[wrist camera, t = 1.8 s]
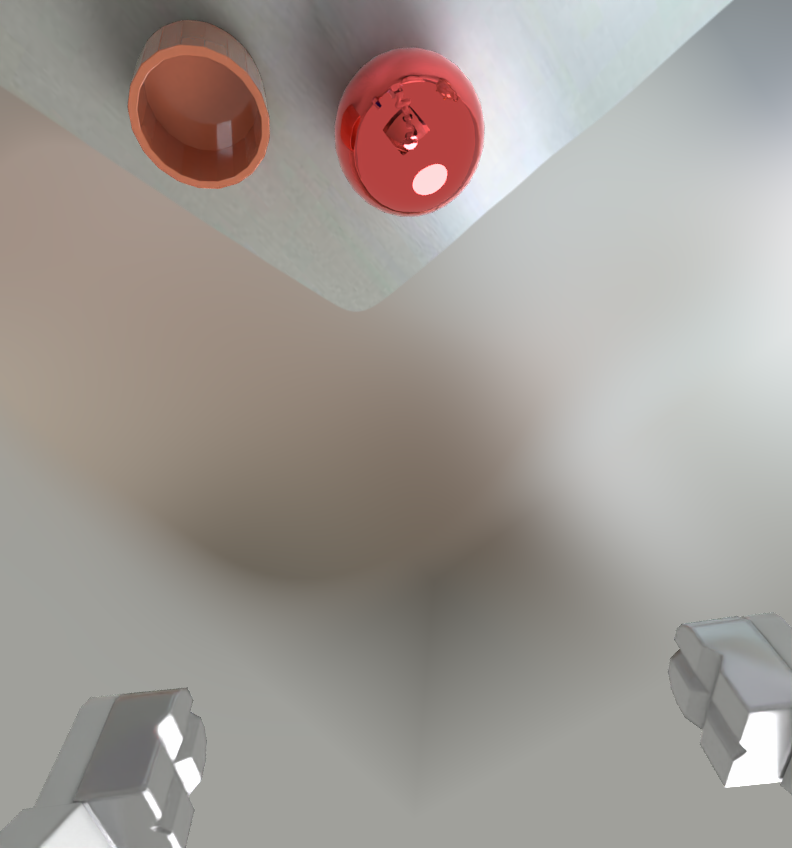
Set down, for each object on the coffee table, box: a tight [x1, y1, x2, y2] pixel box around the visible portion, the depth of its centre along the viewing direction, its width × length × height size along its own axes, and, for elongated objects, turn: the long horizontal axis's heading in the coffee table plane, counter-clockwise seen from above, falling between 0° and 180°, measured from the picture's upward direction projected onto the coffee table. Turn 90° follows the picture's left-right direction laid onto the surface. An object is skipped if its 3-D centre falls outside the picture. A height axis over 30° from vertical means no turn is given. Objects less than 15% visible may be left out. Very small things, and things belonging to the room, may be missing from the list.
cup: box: [128, 20, 270, 189], centre depth 42 cm, size 10×10×6 cm
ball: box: [334, 47, 485, 217], centre depth 44 cm, size 12×12×12 cm
